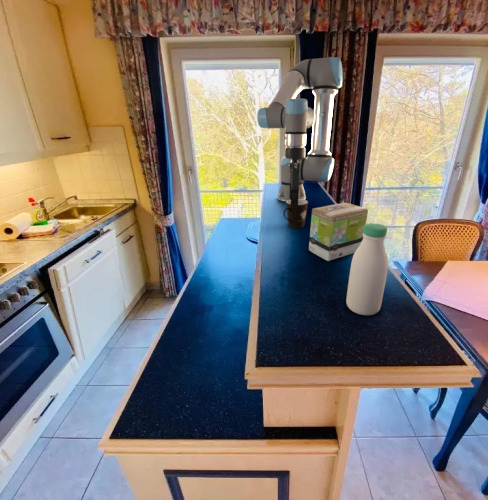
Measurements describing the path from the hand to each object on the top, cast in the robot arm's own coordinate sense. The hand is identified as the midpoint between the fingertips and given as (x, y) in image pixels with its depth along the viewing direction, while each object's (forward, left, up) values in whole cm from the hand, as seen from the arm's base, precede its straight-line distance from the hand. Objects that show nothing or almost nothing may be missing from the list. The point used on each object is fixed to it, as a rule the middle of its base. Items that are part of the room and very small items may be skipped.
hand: (293, 203), depth 111 cm
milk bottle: (+54, +14, -10) cm, 56 cm away
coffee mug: (0, 0, -10) cm, 10 cm away
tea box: (+24, +13, -10) cm, 29 cm away
